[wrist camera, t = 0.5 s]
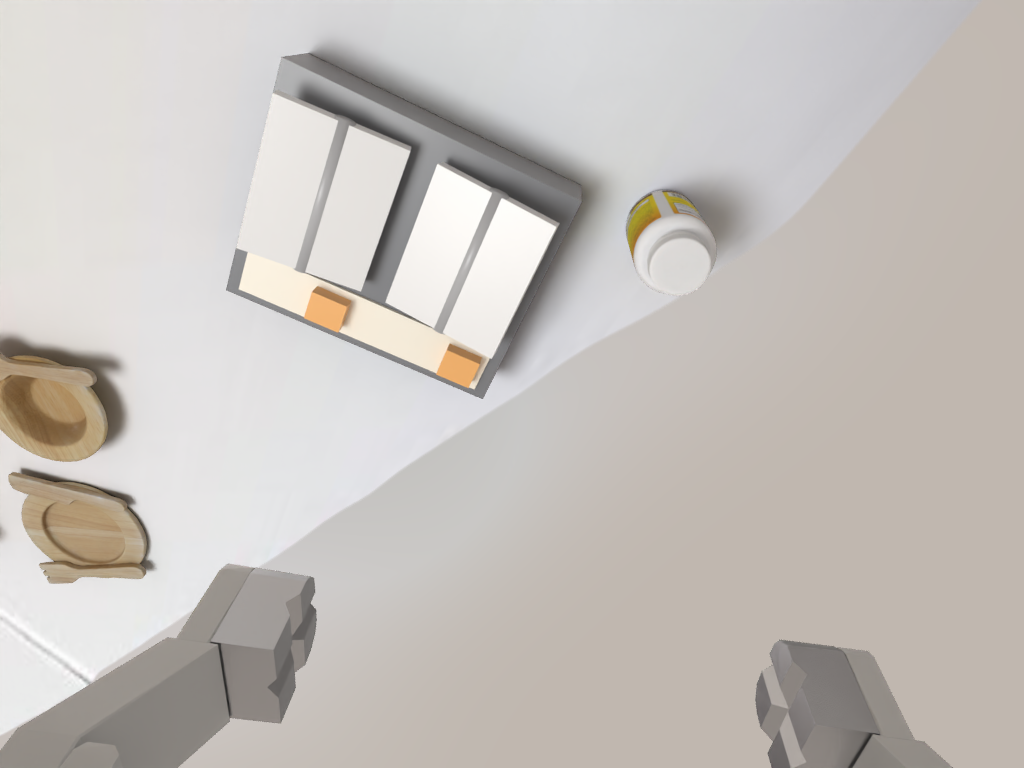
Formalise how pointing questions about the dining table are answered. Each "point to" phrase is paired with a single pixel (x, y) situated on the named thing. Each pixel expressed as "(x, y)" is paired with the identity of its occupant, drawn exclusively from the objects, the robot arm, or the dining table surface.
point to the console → (402, 229)
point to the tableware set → (66, 505)
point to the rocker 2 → (469, 259)
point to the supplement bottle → (670, 243)
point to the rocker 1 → (320, 192)
